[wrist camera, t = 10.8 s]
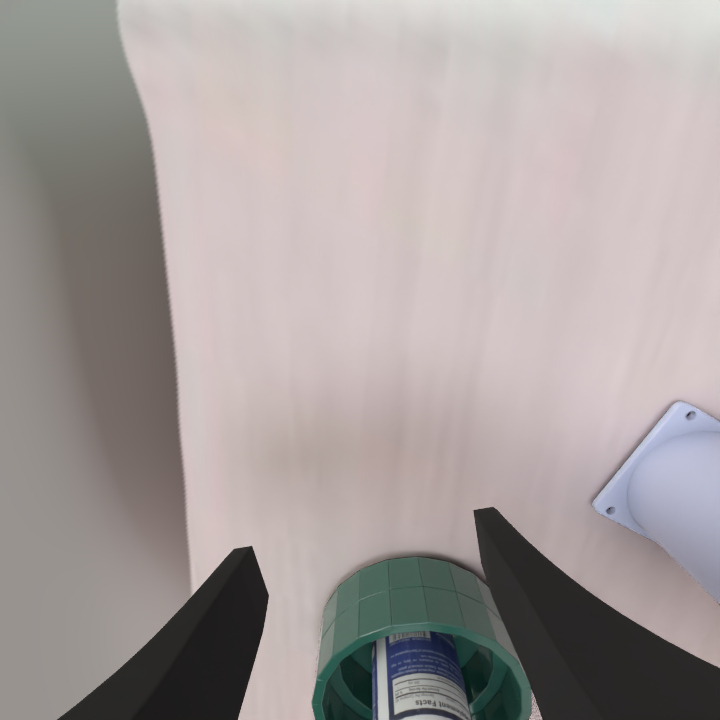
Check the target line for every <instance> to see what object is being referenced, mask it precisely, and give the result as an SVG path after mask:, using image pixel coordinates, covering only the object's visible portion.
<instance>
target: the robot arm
mask: <svg viewBox="0 0 720 720" xmlns="http://www.w3.org/2000/svg"><path fill="white" fill-rule="evenodd" d="M689 412H690V415H689V416H687V414H688V413H689ZM686 416H687V417H686ZM592 506H593V508H594V509H595V510H596V511H597V512H598V513H599V514H601V515H603V516H605V517H607V518H609V519H611V520H613V521H615V522H617V523H619V524H621V525H623V526H625V527H626V528H628V529H630V530H632V531H634V532H636V533H638V534H640V535H642V536H644V537H646V538H648V539H650V540H652V541H654V542H656V543H658V544H659V545H660V546H661V547H662V548H663V549H664V550H665V551H666V552H667V553H668V554H669V555H670V556H671V557H672V558H673V559H674V560H675V561H676V562H677V563H678V564H679V565H680V566H681V567H682V568H683V569H684V570H685V571H686V572H687V573H688V574H689V575H690V576H691V577H692V578H693V579H694V580H695V581H696V582H697V583H698V584H699V585H700V586H701V587H702V588H703V589H704V590H705V591H706V592H707V593H708V594H709V595H710V596H711V597H712V598H713V599H714V600H715V601H716V602H717V603H718V604H719V605H720V421H718V420H717V419H715V418H713V417H711V416H710V415H708V414H706V413H704V412H703V411H701V410H699V409H697V408H696V407H694V406H692V405H690V404H688V403H686V402H684V401H678V402H676V403H674V404H673V405H672V406H671V407H670V409H669V410H668V411H667V412H666V413H665V415H664V416H663V417H662V418H661V419H660V421H659V422H658V423H657V424H656V426H655V427H654V428H653V429H652V430H651V432H650V433H649V434H648V435H647V436H646V438H645V439H644V440H643V441H642V443H641V444H640V445H639V446H638V447H637V449H636V450H635V451H634V452H633V453H632V455H631V456H630V457H629V458H628V460H627V461H626V462H625V463H624V464H623V466H622V467H621V468H620V469H619V470H618V472H617V473H616V474H615V475H614V477H613V478H612V479H611V480H610V481H609V483H608V484H607V485H606V486H605V487H604V489H603V490H602V491H601V492H600V494H599V495H598V496H597V497H596V498H595V500H594V501H593V504H592ZM609 507H611V508H610V509H609V510H607V509H608V508H609ZM473 511H474V517H475V524H476V531H477V537H478V544H479V551H480V558H481V564H482V567H483V570H484V573H485V576H486V580H487V583H488V586H489V589H490V592H491V595H492V598H493V600H494V603H495V605H496V607H497V610H498V612H499V614H500V617H501V619H502V621H503V624H504V626H505V628H506V630H507V633H508V635H509V637H510V640H511V642H512V644H513V647H514V649H515V651H516V653H517V656H518V658H519V660H520V663H521V665H522V667H523V669H524V672H525V674H526V676H527V679H528V681H529V684H530V686H531V689H532V691H533V694H534V696H535V699H536V702H537V704H538V707H539V710H540V713H541V716H542V719H543V720H720V668H718V667H716V666H714V665H712V664H710V663H708V662H706V661H704V660H702V659H700V658H698V657H696V656H694V655H692V654H690V653H688V652H687V651H685V650H683V649H681V648H679V647H677V646H675V645H673V644H672V643H670V642H668V641H666V640H664V639H662V638H661V637H659V636H657V635H656V634H654V633H652V632H651V631H649V630H647V629H646V628H644V627H642V626H641V625H639V624H637V623H636V622H634V621H632V620H631V619H629V618H627V617H626V616H624V615H622V614H621V613H619V612H618V611H616V610H615V609H613V608H612V607H610V606H609V605H607V604H606V603H604V602H603V601H601V600H600V599H599V598H597V597H596V596H594V595H593V594H592V593H590V592H589V591H587V590H586V589H585V588H583V587H582V586H581V585H579V584H578V583H577V582H575V581H574V580H573V579H571V578H570V577H569V576H568V575H566V574H565V573H564V572H563V571H562V570H560V569H559V568H558V567H557V566H555V565H554V564H553V563H552V562H551V561H549V560H548V559H547V558H546V557H545V556H544V555H543V554H541V553H540V552H539V551H538V550H537V549H536V548H535V547H534V546H533V545H532V544H530V543H529V542H528V541H527V540H526V539H525V538H524V537H523V536H522V535H521V534H520V533H519V532H518V531H517V530H516V529H515V528H514V527H513V526H512V525H511V524H510V523H509V522H508V521H507V520H506V519H505V518H504V517H503V516H502V515H501V514H500V512H499V511H498V510H497V509H495V508H494V507H490V508H484V509H478V510H473ZM268 598H269V595H268V592H267V589H266V586H265V583H264V580H263V577H262V574H261V571H260V568H259V565H258V562H257V559H256V556H255V553H254V550H253V547H252V546H249V547H243V548H237V549H234V550H233V551H232V552H231V553H230V554H229V555H228V556H227V557H226V558H225V559H224V561H223V562H222V563H221V564H220V565H219V566H218V567H217V569H216V570H215V571H214V572H213V573H212V574H211V575H210V577H209V578H208V579H207V580H206V581H205V582H204V583H203V585H202V586H201V587H200V588H199V589H198V590H197V591H196V592H195V594H194V595H193V596H192V597H191V598H190V599H189V600H188V601H187V603H186V604H185V605H184V606H183V607H182V608H181V609H180V610H179V611H178V612H177V613H176V614H175V615H174V616H173V617H172V618H171V619H170V620H169V621H168V623H167V624H166V625H165V626H164V627H163V628H162V629H161V630H160V631H159V632H158V633H157V634H156V635H155V636H154V637H153V638H152V639H151V640H150V641H149V642H148V643H147V644H146V645H145V646H144V647H143V648H142V649H141V650H140V651H138V652H137V653H136V654H135V655H134V656H133V657H132V658H131V659H130V660H129V661H128V662H126V663H125V664H124V665H123V666H122V667H121V668H120V669H119V670H118V671H116V673H114V674H113V675H112V676H111V677H109V678H108V679H107V680H106V681H105V682H104V683H102V684H101V685H100V686H99V687H97V688H96V689H95V690H94V691H93V692H91V693H90V694H89V695H88V696H87V697H85V698H84V699H83V700H82V701H81V702H79V703H78V704H77V705H76V706H74V707H73V708H72V709H71V710H69V711H68V712H67V713H65V714H64V715H63V716H61V717H60V718H59V719H57V720H238V717H239V713H240V710H241V706H242V703H243V699H244V696H245V692H246V689H247V685H248V682H249V679H250V675H251V672H252V668H253V665H254V661H255V658H256V654H257V651H258V647H259V644H260V640H261V636H262V633H263V628H264V622H265V617H266V611H267V604H268Z"/></svg>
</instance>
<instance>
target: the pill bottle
mask: <svg viewBox="0 0 720 720" xmlns="http://www.w3.org/2000/svg"><path fill="white" fill-rule="evenodd" d="M372 706H373V720H472V717H471V712H470V708H469V704H468V699H467V694H466V690H465V685H464V681H463V676H462V672H461V668H460V663H459V659H458V655H457V650H456V646H455V642H454V638H453V635H452V634H445V633H439V632H433V631H421V632H409V633H398V634H392V635H390V636H387V637H384V638H381V639H378V640H375V641H372Z"/></svg>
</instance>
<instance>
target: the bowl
mask: <svg viewBox="0 0 720 720" xmlns="http://www.w3.org/2000/svg"><path fill="white" fill-rule="evenodd" d="M421 631H433V632H439V633H445V634H452V635H453V638H454V642H455V646H456V650H457V655H458V659H459V663H460V668H461V672H462V676H463V681H464V685H465V690H466V694H467V699H468V704H469V708H470V712H471V717H472V720H529V718H530V715H531V712H532V698H531V686H530V684H529V681H528V679H527V676H526V674H525V672H524V669H523V667H522V665H521V663H520V660H519V658H518V656H517V653H516V651H515V649H514V647H513V644H512V642H511V640H510V637H509V635H508V633H507V630H506V628H505V626H504V624H503V621H502V619H501V617H500V614H499V612H498V610H497V607H496V605H495V603H494V600H493V598H492V595H491V592H490V589H489V587H488V586H486V585H485V584H484V583H483V582H482V581H481V580H480V579H479V578H478V577H477V576H476V575H475V574H473V573H471V572H469V571H467V570H465V569H463V568H461V567H459V566H456V565H454V564H452V563H450V562H447V561H442V560H436V559H430V558H424V557H409V558H398V559H389V560H385V561H382V562H379V563H377V564H374V565H371V566H369V567H366V568H363V569H361V570H359V571H358V572H357V573H355V574H354V575H353V576H351V577H350V578H349V579H348V580H346V581H345V582H344V583H342V584H341V585H340V586H339V587H338V588H337V590H336V591H335V593H334V594H333V596H332V597H331V599H330V600H329V602H328V603H327V605H326V606H325V610H324V615H323V620H322V625H321V631H320V639H319V647H318V655H317V663H316V671H315V679H314V686H313V694H312V708H313V712H314V716H315V720H373V706H372V641H375V640H378V639H381V638H384V637H387V636H390V635H392V634H398V633H409V632H421Z"/></svg>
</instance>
